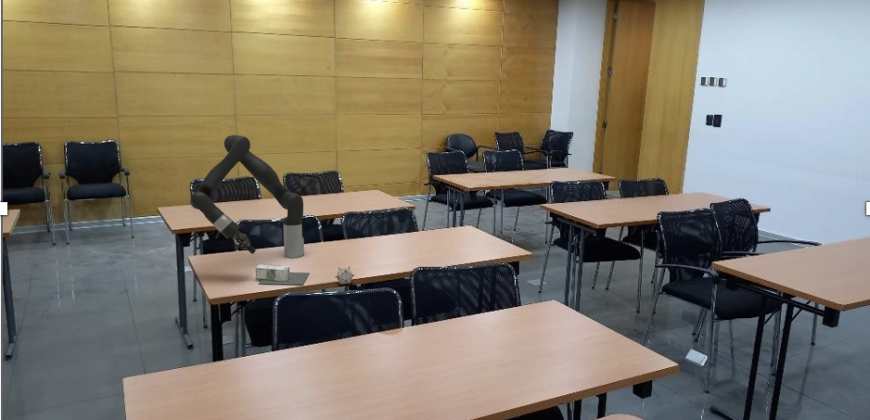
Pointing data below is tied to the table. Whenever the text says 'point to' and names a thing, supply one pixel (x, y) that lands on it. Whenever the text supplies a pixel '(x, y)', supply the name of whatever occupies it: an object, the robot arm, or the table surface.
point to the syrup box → (272, 272)
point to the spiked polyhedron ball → (344, 276)
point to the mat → (294, 279)
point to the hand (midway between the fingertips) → (254, 252)
